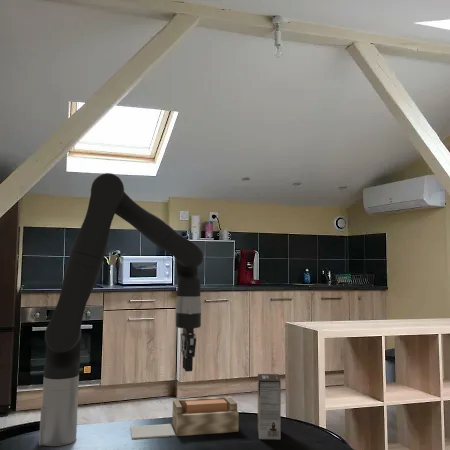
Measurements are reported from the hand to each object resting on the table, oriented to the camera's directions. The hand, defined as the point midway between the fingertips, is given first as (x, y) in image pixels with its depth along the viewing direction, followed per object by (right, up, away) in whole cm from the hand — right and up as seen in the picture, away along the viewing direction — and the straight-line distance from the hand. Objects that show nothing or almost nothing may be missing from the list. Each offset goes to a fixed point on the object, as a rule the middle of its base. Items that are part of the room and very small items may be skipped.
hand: (187, 369), depth 139 cm
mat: (-10, -17, -4) cm, 20 cm away
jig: (+5, -17, -1) cm, 18 cm away
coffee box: (+24, -17, -5) cm, 30 cm away
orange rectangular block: (+6, -13, 0) cm, 14 cm away
